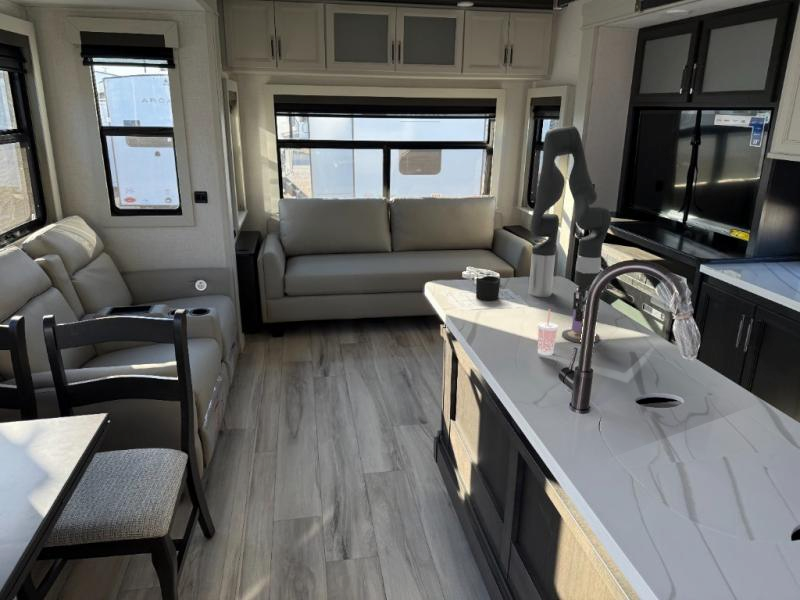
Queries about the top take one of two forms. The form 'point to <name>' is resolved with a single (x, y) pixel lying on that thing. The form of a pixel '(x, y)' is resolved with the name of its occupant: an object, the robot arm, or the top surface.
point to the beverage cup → (546, 336)
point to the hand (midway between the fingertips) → (582, 318)
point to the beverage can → (576, 325)
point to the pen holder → (487, 288)
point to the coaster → (575, 336)
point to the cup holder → (471, 274)
